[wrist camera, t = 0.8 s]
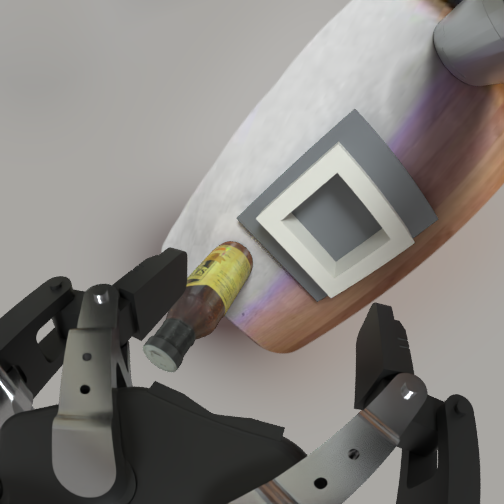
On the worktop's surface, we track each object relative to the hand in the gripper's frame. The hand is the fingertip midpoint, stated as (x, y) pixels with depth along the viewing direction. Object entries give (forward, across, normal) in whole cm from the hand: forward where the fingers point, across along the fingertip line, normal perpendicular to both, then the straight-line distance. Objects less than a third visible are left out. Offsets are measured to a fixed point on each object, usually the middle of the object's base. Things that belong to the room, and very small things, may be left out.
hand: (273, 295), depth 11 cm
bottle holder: (+24, -3, +3) cm, 24 cm away
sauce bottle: (+25, +9, +13) cm, 30 cm away
